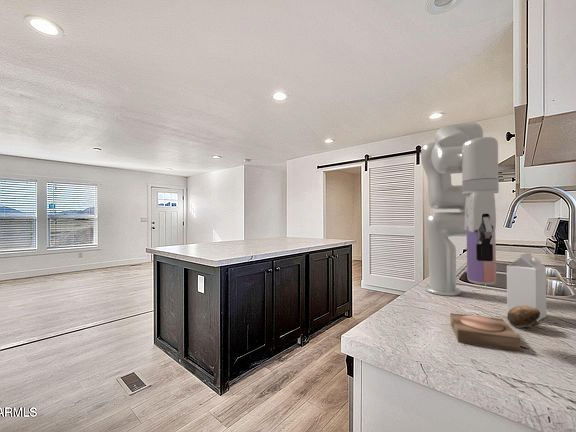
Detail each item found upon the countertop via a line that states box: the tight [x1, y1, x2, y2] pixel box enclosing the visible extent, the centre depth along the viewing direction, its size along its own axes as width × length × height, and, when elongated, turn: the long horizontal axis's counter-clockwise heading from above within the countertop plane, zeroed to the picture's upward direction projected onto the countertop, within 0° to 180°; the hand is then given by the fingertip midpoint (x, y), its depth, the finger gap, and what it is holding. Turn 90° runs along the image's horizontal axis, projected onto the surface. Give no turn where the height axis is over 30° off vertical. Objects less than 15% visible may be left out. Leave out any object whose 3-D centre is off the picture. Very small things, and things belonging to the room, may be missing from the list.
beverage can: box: [466, 223, 497, 286], centre depth 69 cm, size 6×6×15 cm
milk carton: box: [506, 251, 547, 322], centre depth 82 cm, size 7×7×19 cm
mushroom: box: [507, 306, 542, 329], centre depth 74 cm, size 8×8×6 cm
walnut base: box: [449, 312, 521, 352], centre depth 69 cm, size 12×12×4 cm
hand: (480, 258), depth 69 cm, fingers closed on beverage can, 6 cm apart
